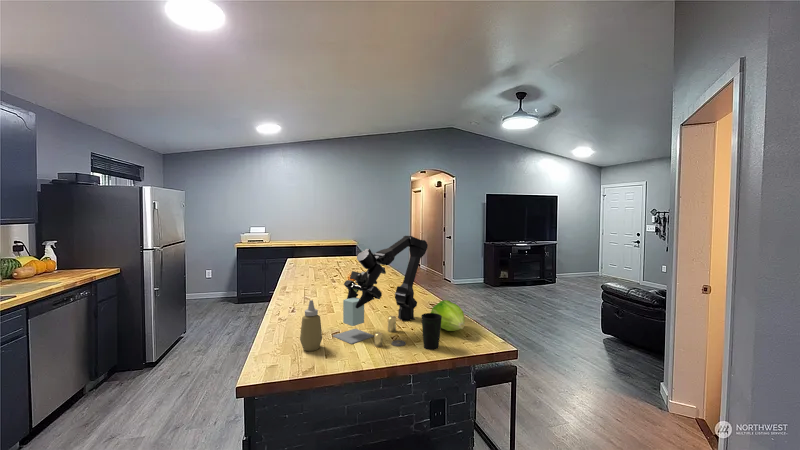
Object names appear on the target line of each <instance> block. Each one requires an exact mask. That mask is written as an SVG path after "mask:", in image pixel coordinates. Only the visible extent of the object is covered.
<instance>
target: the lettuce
mask: <svg viewBox="0 0 800 450" xmlns="http://www.w3.org/2000/svg"><path fill="white" fill-rule="evenodd" d="M430 313H436V314H439V315H441V316H442V320H441V329H442V330H444V331H447V332H455V331H458V330H463V329H464V328H465V314H464V311H463V309H462V308H461V307H460V306H459V305H458V304H456V303H454V302H451V301H450V300H447V299H444V300H439V302H438V303H437V304H435V305H434V306H433V307H432V308H431V311H430ZM441 329H440V330H441Z"/></svg>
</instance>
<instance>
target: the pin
mask: <svg viewBox="0 0 800 450" xmlns="http://www.w3.org/2000/svg"><path fill="white" fill-rule="evenodd" d="M373 335H374V337H373V338H374V342H373V344H374V347H376V348H381V347H382V346H383V333H382V332H375V333H374V334H373Z"/></svg>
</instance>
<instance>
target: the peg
mask: <svg viewBox="0 0 800 450" xmlns="http://www.w3.org/2000/svg"><path fill="white" fill-rule="evenodd" d="M387 332H388V333H396V332H397V318H396V315H395V316H393V315H389V316H388V317H387Z"/></svg>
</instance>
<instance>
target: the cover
mask: <svg viewBox="0 0 800 450" xmlns="http://www.w3.org/2000/svg"><path fill="white" fill-rule="evenodd" d="M359 299H360V297H359V298H358V297H354V298H349V299H347V298H345V299H343V300H342V305H343V307H342V308H343V310H342V311H343V313H342V315H343V316H342V318H343V319H342V320H343V321H342V323H343V324H346V325H348V326H351V327H355V326H358V325H362V324H364V323H365V304H364V305H362V306H361V307H359V308H356V305H357V303H358V301H359Z"/></svg>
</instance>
